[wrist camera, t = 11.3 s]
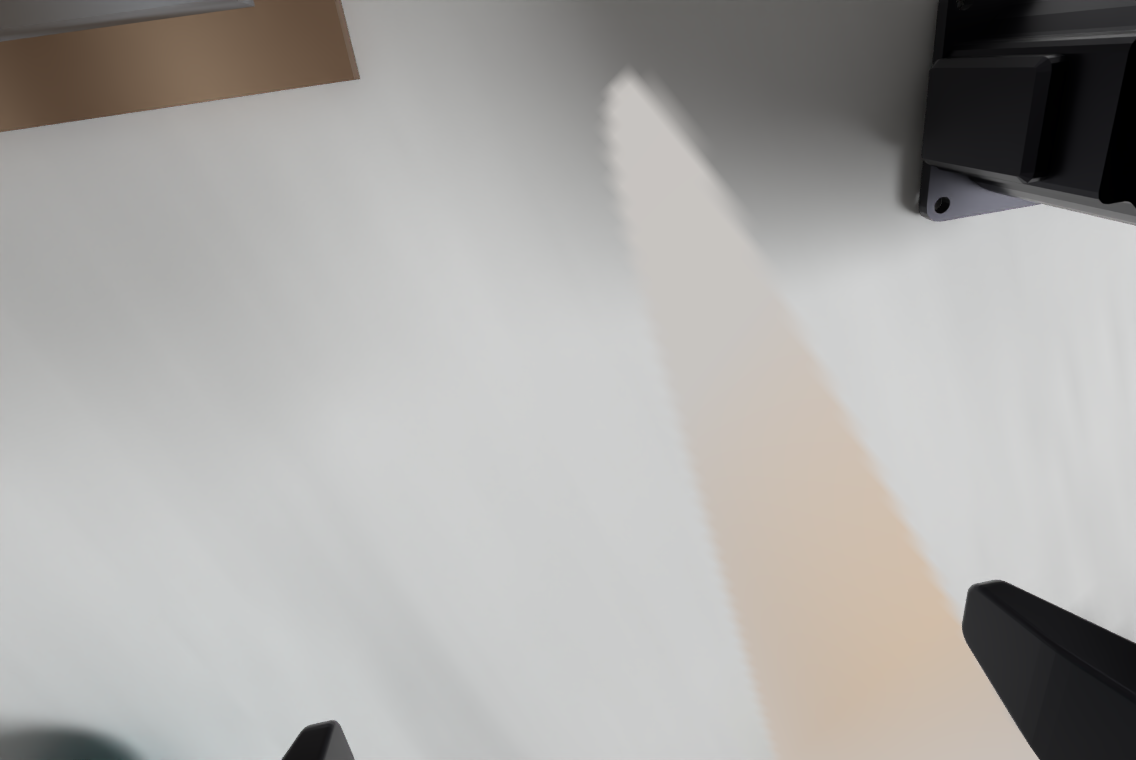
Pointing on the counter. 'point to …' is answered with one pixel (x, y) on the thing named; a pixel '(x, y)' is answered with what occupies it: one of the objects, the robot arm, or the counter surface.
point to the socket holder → (160, 54)
